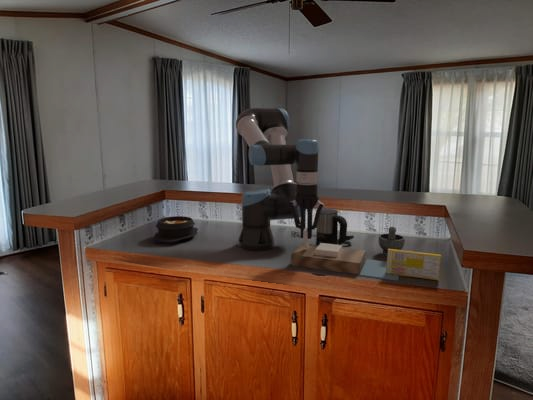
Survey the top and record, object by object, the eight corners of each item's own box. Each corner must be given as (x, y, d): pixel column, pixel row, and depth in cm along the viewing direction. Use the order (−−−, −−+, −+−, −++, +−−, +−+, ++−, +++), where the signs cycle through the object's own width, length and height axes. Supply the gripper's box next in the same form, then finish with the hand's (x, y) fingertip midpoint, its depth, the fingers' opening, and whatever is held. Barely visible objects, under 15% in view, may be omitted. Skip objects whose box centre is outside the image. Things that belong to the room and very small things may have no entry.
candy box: (438, 278, 124) (441, 254, 122) (438, 281, 122) (441, 256, 120) (385, 271, 129) (388, 247, 127) (385, 273, 127) (387, 249, 125)
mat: (359, 275, 126) (359, 274, 126) (366, 260, 141) (366, 259, 141) (398, 280, 122) (398, 279, 122) (400, 264, 136) (401, 263, 136)
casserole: (180, 248, 156) (179, 228, 155) (141, 244, 162) (140, 225, 160) (207, 232, 180) (206, 215, 178) (172, 229, 185) (171, 212, 184)
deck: (291, 265, 136) (291, 254, 135) (302, 253, 149) (302, 243, 148) (359, 274, 127) (359, 263, 127) (365, 261, 140) (365, 250, 139)
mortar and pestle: (378, 249, 154) (380, 220, 151) (403, 251, 151) (405, 221, 149) (377, 258, 143) (379, 227, 141) (403, 260, 140) (406, 229, 138)
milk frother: (311, 246, 157) (312, 211, 154) (325, 237, 171) (325, 204, 168) (345, 252, 150) (346, 215, 148) (356, 241, 164) (357, 207, 161)
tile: (315, 254, 135) (315, 249, 135) (320, 248, 142) (321, 242, 142) (337, 257, 132) (337, 251, 132) (342, 250, 140) (342, 245, 139)
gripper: (286, 183, 135) (285, 247, 139) (322, 185, 130) (320, 251, 134) (292, 181, 142) (292, 242, 146) (327, 182, 137) (325, 245, 141)
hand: (306, 246), depth 140 cm, fingers closed
